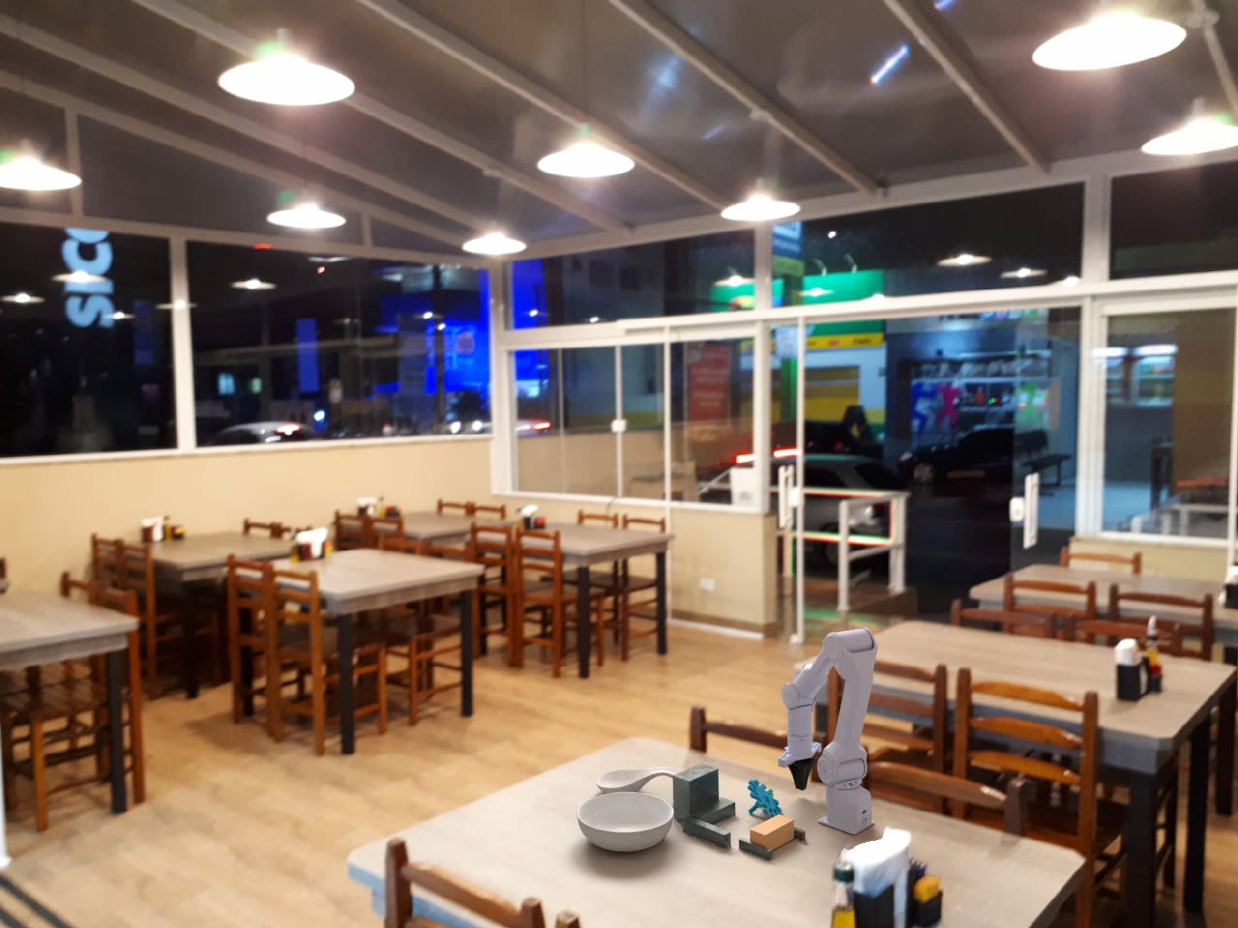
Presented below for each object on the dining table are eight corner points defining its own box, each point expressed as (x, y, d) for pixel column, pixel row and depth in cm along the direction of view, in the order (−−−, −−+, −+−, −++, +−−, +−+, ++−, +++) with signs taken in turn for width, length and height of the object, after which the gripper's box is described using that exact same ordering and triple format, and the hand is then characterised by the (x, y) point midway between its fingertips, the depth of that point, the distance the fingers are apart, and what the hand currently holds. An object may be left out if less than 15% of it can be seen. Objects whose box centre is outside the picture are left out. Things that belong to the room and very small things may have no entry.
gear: (775, 820, 210) (745, 782, 214) (757, 836, 212) (727, 798, 215) (790, 807, 220) (761, 772, 223) (772, 823, 221) (744, 787, 225)
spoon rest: (590, 800, 228) (589, 771, 227) (605, 782, 239) (604, 754, 239) (686, 810, 221) (685, 780, 220) (697, 790, 232) (696, 762, 232)
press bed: (805, 839, 204) (804, 794, 203) (762, 864, 194) (761, 816, 193) (706, 803, 224) (705, 761, 223) (663, 823, 214) (661, 779, 213)
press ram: (794, 837, 204) (793, 819, 204) (765, 853, 197) (765, 835, 197) (779, 832, 207) (778, 814, 207) (750, 847, 200) (749, 829, 200)
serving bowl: (667, 867, 194) (666, 834, 193) (567, 860, 198) (566, 828, 197) (680, 823, 214) (680, 793, 214) (590, 817, 218) (589, 788, 218)
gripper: (803, 721, 233) (804, 775, 234) (767, 736, 223) (768, 793, 224) (828, 727, 228) (829, 782, 229) (791, 743, 218) (793, 801, 219)
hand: (800, 788), depth 226 cm, fingers closed
